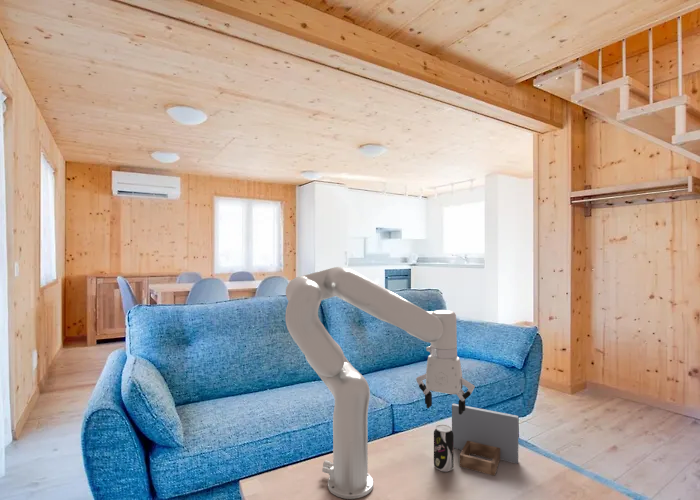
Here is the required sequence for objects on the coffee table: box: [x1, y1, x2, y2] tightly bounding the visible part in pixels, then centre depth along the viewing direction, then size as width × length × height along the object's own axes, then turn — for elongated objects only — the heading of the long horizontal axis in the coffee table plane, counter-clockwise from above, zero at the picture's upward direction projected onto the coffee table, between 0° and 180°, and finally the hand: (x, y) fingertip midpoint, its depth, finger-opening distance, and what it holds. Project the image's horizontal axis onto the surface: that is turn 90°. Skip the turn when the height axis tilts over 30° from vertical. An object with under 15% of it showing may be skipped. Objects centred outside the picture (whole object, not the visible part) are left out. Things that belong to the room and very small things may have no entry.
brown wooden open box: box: [459, 441, 501, 477], centre depth 121 cm, size 10×10×4 cm
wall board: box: [451, 403, 519, 465], centre depth 126 cm, size 20×2×14 cm, turn 61°
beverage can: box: [433, 424, 455, 473], centre depth 118 cm, size 6×6×12 cm
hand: (444, 409), depth 118 cm, fingers open, 9 cm apart
